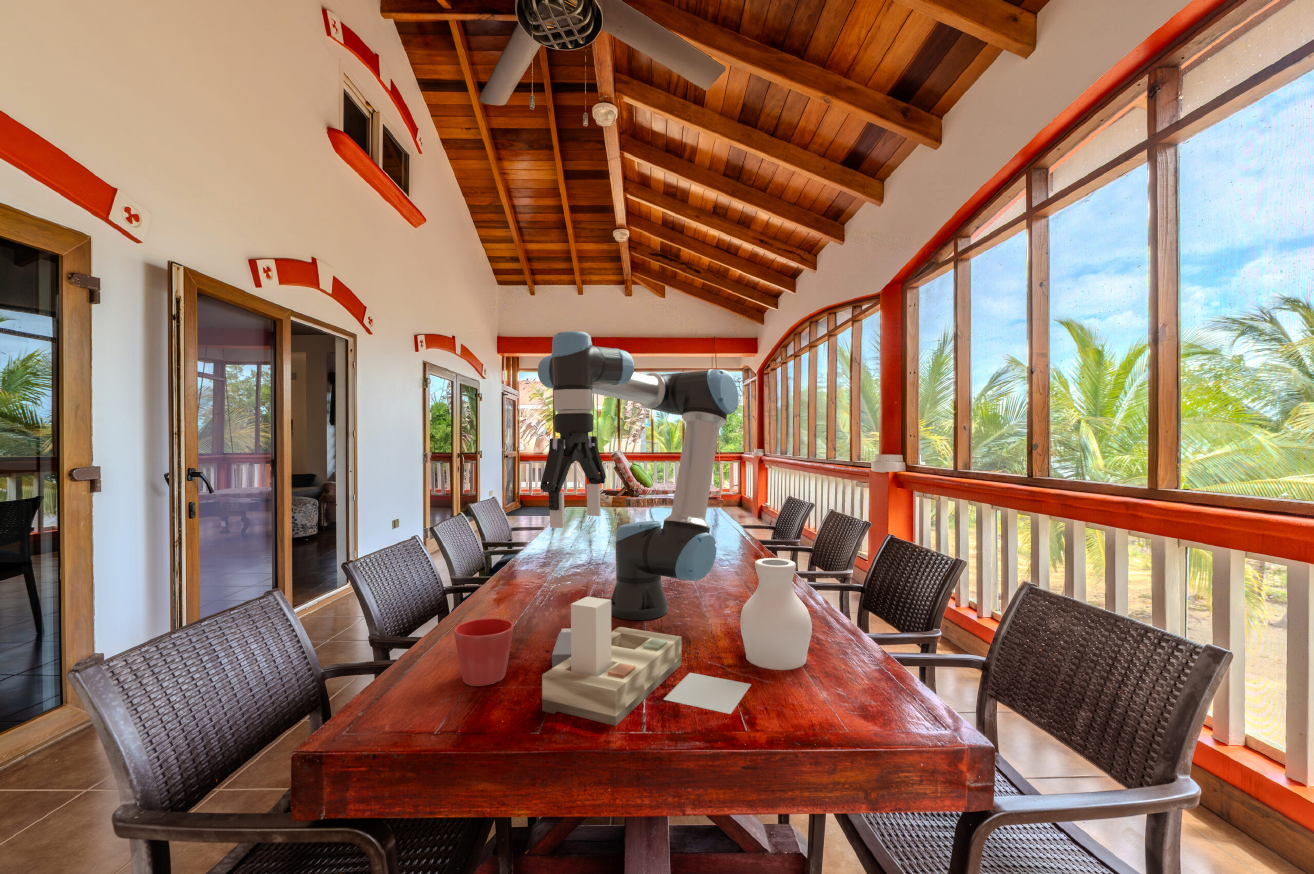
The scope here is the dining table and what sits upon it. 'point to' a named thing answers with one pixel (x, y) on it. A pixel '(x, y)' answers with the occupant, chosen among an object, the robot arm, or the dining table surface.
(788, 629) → the vase
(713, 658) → the dining table surface
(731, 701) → the mat
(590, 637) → the plug
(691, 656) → the dining table surface
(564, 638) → the plug
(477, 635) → the flower pot
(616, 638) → the socket box
